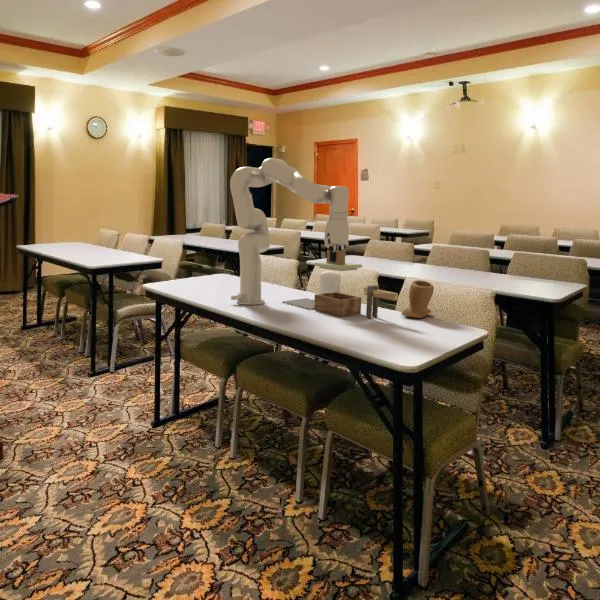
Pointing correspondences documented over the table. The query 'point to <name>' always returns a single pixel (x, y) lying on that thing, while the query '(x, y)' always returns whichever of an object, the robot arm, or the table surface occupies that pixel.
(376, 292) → the tan wooden bar
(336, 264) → the lid
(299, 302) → the mat
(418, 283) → the stone cup
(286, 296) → the table surface
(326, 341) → the table surface
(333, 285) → the photo printer
